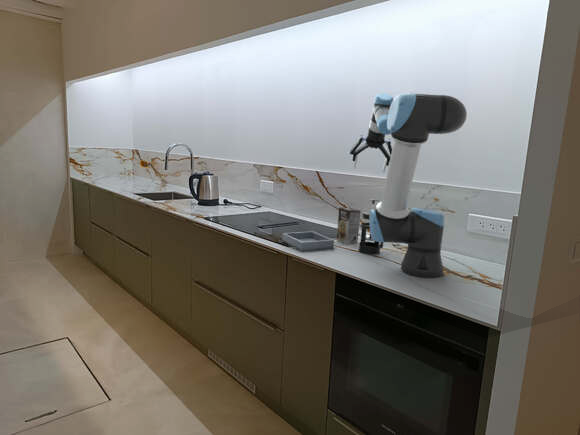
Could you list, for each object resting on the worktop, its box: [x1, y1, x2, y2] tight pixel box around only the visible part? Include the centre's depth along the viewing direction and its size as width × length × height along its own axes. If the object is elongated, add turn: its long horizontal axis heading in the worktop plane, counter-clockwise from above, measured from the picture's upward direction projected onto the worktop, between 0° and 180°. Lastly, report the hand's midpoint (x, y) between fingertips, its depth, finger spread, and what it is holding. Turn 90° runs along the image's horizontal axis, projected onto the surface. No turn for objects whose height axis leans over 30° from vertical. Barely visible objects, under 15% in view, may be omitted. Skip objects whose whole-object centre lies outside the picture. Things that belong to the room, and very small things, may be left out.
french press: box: [357, 198, 384, 255], centre depth 175 cm, size 12×9×23 cm
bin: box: [282, 230, 335, 253], centre depth 183 cm, size 18×16×4 cm
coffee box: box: [336, 207, 362, 246], centre depth 191 cm, size 9×6×16 cm
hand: (369, 168), depth 193 cm, fingers open, 13 cm apart
